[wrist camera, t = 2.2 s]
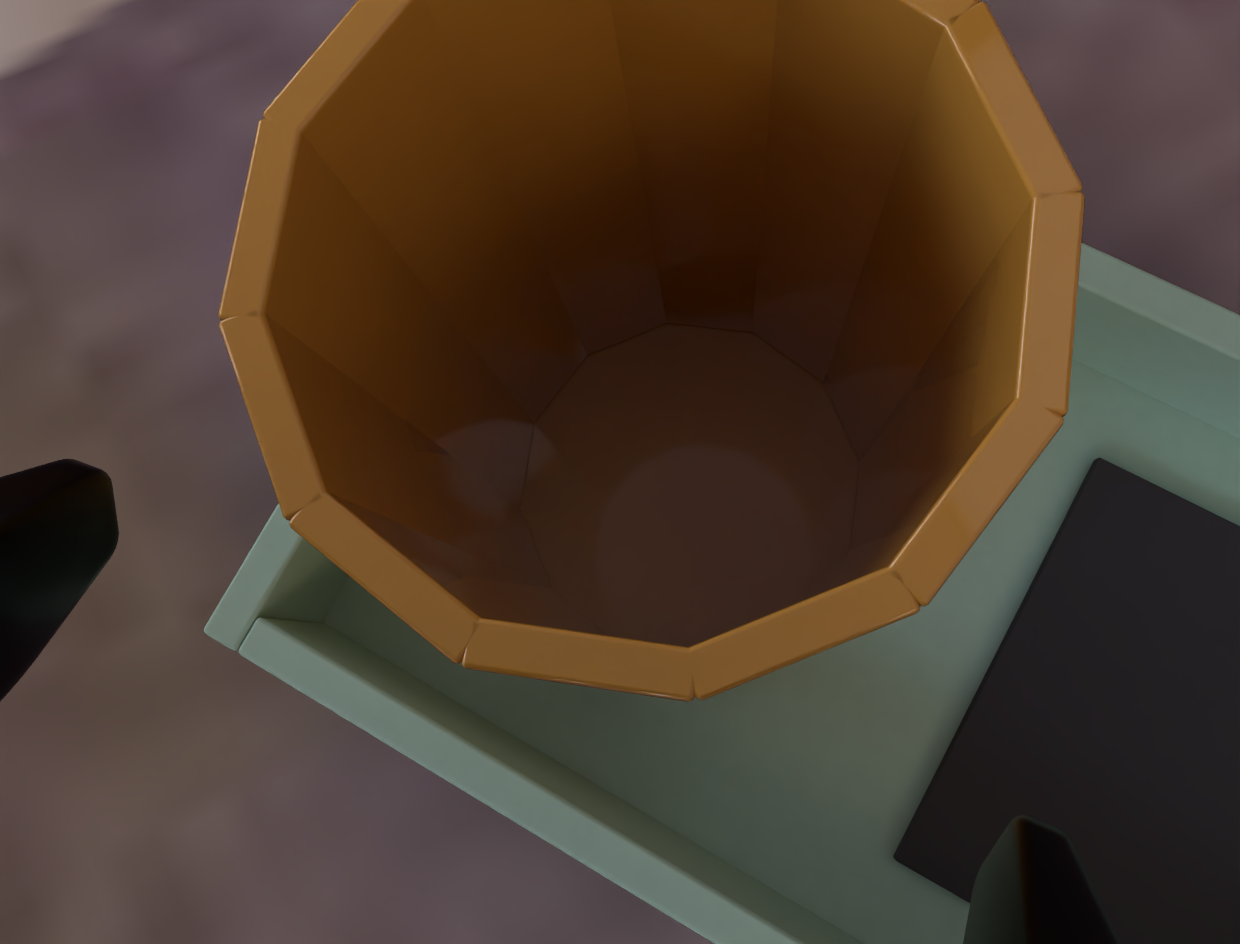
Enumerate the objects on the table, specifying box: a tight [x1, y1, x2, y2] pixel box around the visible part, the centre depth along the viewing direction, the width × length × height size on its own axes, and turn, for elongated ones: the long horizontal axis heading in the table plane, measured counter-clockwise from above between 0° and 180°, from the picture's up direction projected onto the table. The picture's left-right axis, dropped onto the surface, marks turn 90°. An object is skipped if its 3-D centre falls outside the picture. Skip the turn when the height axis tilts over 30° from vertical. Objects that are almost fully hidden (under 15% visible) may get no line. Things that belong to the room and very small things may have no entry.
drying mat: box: [893, 458, 1240, 944], centre depth 19 cm, size 8×8×1 cm
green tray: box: [204, 243, 1240, 944], centre depth 18 cm, size 21×12×4 cm, turn 61°
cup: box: [219, 0, 1085, 702], centre depth 15 cm, size 7×7×12 cm
